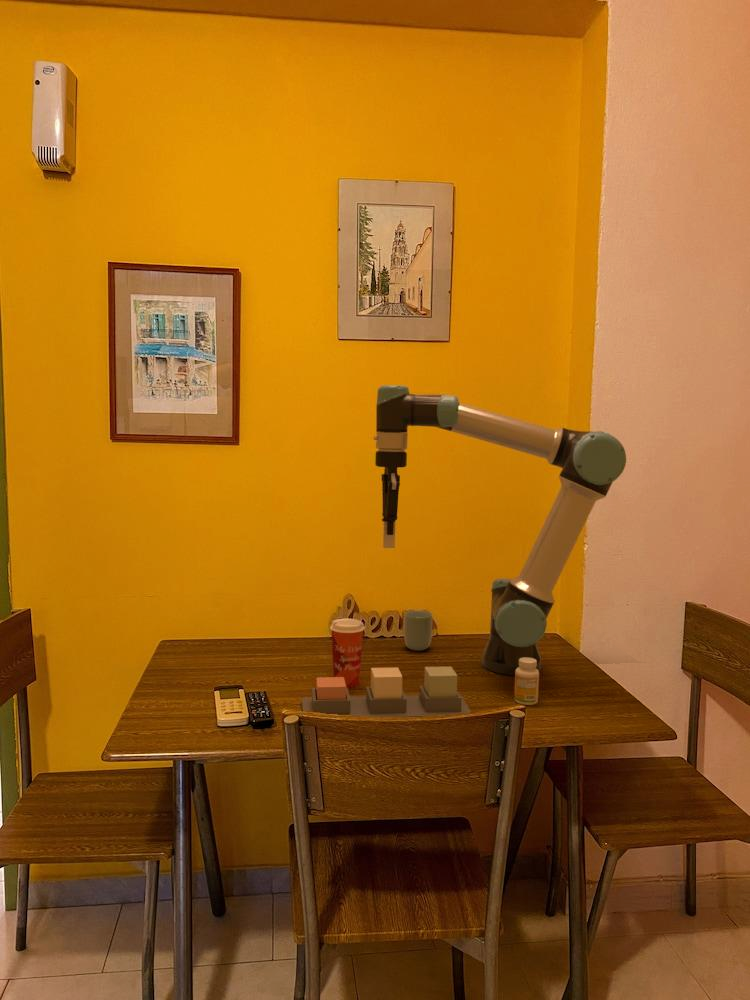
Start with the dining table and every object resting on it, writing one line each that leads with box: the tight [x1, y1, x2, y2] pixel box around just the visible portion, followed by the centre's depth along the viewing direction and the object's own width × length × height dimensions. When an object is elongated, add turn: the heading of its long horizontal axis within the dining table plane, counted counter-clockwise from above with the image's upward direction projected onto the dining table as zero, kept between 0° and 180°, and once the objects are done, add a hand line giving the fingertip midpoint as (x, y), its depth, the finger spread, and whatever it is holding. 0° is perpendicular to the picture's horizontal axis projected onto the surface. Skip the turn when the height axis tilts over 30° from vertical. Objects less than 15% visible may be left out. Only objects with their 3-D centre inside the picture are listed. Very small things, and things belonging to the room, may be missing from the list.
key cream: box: [370, 667, 403, 699], centre depth 162 cm, size 6×6×5 cm
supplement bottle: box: [513, 657, 540, 706], centre depth 170 cm, size 5×5×10 cm
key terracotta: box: [315, 676, 346, 700], centre depth 160 cm, size 6×6×5 cm
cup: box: [403, 609, 434, 652], centre depth 207 cm, size 8×8×10 cm
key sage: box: [423, 666, 458, 697], centre depth 163 cm, size 6×6×5 cm
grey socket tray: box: [301, 685, 472, 717], centre depth 162 cm, size 36×12×4 cm, turn 97°
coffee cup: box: [329, 617, 366, 688], centre depth 178 cm, size 8×8×15 cm
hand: (388, 547), depth 181 cm, fingers closed
